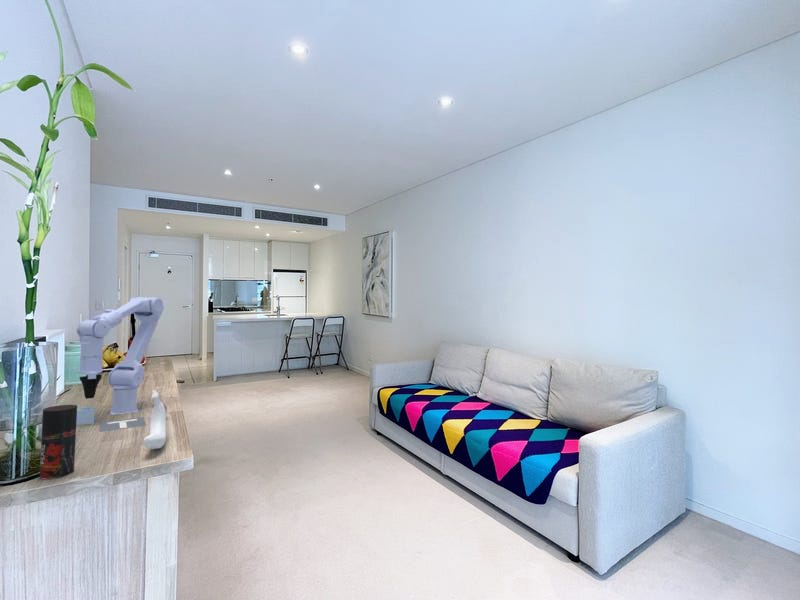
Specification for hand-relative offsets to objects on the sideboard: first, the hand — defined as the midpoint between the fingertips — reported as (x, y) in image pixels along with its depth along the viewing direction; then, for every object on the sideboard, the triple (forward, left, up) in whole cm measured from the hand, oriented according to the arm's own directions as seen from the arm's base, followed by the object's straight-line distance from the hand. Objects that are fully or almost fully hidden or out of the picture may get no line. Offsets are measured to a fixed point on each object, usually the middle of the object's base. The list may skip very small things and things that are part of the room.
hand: (89, 398), depth 126 cm
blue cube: (-1, -1, -9) cm, 9 cm away
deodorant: (+44, -4, -9) cm, 45 cm away
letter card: (+8, +9, -8) cm, 15 cm away
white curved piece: (+36, +16, -9) cm, 41 cm away
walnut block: (+8, +17, -6) cm, 20 cm away
